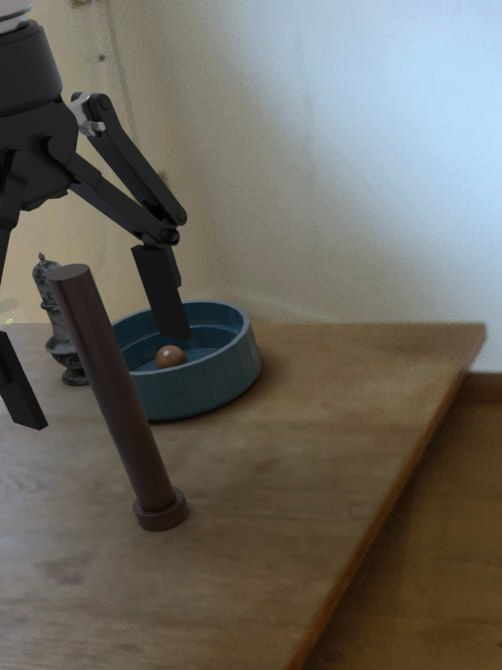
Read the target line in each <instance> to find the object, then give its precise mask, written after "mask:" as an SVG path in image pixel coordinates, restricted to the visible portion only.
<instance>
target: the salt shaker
mask: <svg viewBox="0 0 502 670" xmlns="http://www.w3.org/2000/svg"><path fill="white" fill-rule="evenodd" d="M37 259H39V261H38V263H37V264H35V265H34V266H33V268H32V271H31V276H32V278H33V281H34V283H35V285H36V288H37V291H38V293H39V296H40V298H41V300H42V301H41V303H40V305H39V306H40V309H42V310H43V311H45V313H46V314H47V317H48V319H49V321H50V324H51V328H52V333H53V335H52V336H51V337H49V338H48V339H47V340H46V341H45V343H44V349H45V351H46V352H48V353H49V354H51V356H52V358H53V359H54V360H55V362H56V363H58V365H60V366H63V367H65V368H66V369H65V370H64V371H63V372H62V374H61V380H62V382H63V383H64V384H66V385H69V386H76V387H77V386H78V387H79V386H85V385H90V383H89V381H88V378H87V376H86V373H85V371H84V369H83V366H82V364H81V361H80V359H79V356H78V354H77V352H76V349H75V347H74V344H73V342H72V339H71V337H70V335H69V332H68V330H67V327H66V325H65V322H64V320H63V318H62V315H61V313H60V310H59V308H58V305H57V303H56V301H55V298H54V296H53V293H52V291H51V288H50V286H49V284H48V281H47V279H46V276H47V274H48V273H49V272H51V271H52V270H54V269H56V268H58V267H61V266H62V265H61V264H60V263H59V262H57V261H54V260H49V259H46V255H44V253H42V252H41V251H40V252H38V255H37Z"/></svg>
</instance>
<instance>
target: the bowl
mask: <svg viewBox="0 0 502 670" xmlns="http://www.w3.org/2000/svg"><path fill="white" fill-rule="evenodd" d="M181 301H182V304H183V307H184V310H185V314H186V317H187V320H188V323H189V326H190V329H191V332H192V336H193V337H191V338H190V339H188V340H186V341H184V340H179V339H175V338H170V337H166V336H161V335H160V333H159V330H158V327H157V325H156V322H155V319H154V316H153V313H152V310H151V307H150V306H149V307H147V308H144V309H139V310H137V311H135V312H131V313H129V314H127V315H125V316H123V317H120V318H118V319H117V320H115V321H113V322H110V323H111V325H112V328H113V330H114V333H115V336H116V338H117V341H118V344H119V346H120V349H121V352H122V354H123V357H124V360H125V362H126V365H127V368H128V370H129V373H130V375H131V378H132V381H133V383H134V386H135V389H136V391H137V394H138V397H139V399H140V402H141V405H142V407H143V410H144V413H145V415H146V418H147V420H148V422H149V421H150V422H152V421H153V422H161V421H173V420H179V419H184V418H185V419H186V418H190V417H194V416H197V415H201V414H204V413H208V412H210V411H213V410H215V409H217V408H220V407H222V406H224V405H226V404H228V403H230V402H232V401H233V400H234V399H237V398H238V397H239V396H240V395H242V394H243V393H244V392H245V391H246V390H247V389H248V388H249V387H250V386H251V385H252V384H253V383H254V381H255V380H256V379H257V378H258V377H259V374H260V372H261V370H262V367H263V363H262V358H261V354H260V353H261V352H260V350H259V346H258V343H257V339H256V335H255V331H254V328H253V324H252V320H251V317H250V314H249V313H248V312H247V311H246V310H245V309H244V308H243V307H241V306H239V305H238V304H235V303H232V302H229V301H224V300H219V299H188V300H181ZM167 345H173V346H177V347H179V348H180V349H182V350H183V351H184V352H185V354H186V356H187V358H188V363H186V364H183V365H180V366H175V367H170V368H165V369H160V370H158V369H157V367H156V363H155V357H156V354H157V352H158V351H159V350H160V349H161V348H162V347H164V346H167Z"/></svg>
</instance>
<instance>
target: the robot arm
mask: <svg viewBox="0 0 502 670" xmlns="http://www.w3.org/2000/svg"><path fill="white" fill-rule="evenodd" d="M34 4H35V2H34V0H0V286H1V285H2V280H3V276H4V275H3V274H4V269H5V264H6V258H7V255H8V254H7V253H8V248H9V243H10V239H11V233H12V231H13V230H14V229H15V228H16V227H17V226H18V223H19V221H20V220H19V219H20V214H21V211H22V212H31V211H34V210H37V209H39V208H40V207H41V206H43V204H45V203H46V202H47V201H48V200H56V199H57V200H58V199H61V198H64V197H66V196H68V195H69V192H68V190H70V191H71V192H73V193H74V194H75V195H77V196H78V197H80V198H81V199H83V200H84V201H85V202H87V203H88V204H89V205H90V206H92V207H93V208H95V209H96V210H97V211H99V212H100V213H101V214H103V215H104V216H106V217H107V218H108V219H110V221H112V222H114V223H115V224H117V225H118V226H119V227H121V228H122V229H123V230H125V231H126V232H128V233H129V234H131V235H132V236H133V237H134V238H136V239H137V240H138V241H141V242H142V244H140V243H137V244H135V245H134V246H132V247H129V248H130V251H131V255H132V257H133V260H134V264H135V267H136V269H137V272H138V275H139V277H140V281H141V284H142V287H143V289H144V292H145V296H146V298H147V301H148V304H149V308H150V307H151V310H152V313H153V316H154V319H155V322H156V325H157V327H158V330H159V333H160V335H161V336H166V337H170V338H175V339H179V340H184V341H186V340H188V339H190V338H191V337H193V336H192V332H191V329H190V326H189V323H188V320H187V317H186V314H185V310H184V307H183V304H182V301H183V300H182V298H181V294H180V291H179V288H180V287H182V275H181V273H180V269H179V266H178V263H177V259H176V256H175V254H174V251H173V248H172V247H176V246H177V245H179V243H180V241H181V234H180V231H179V230H178V227H183V226H185V225H186V224H187V222H188V212H187V211H186V210H185V208H184V207H183V206H182V204H181V203H180V202H179V199H177V198H176V196H175V194H173V192H172V191H171V190H170V189H169V188H168V186H167V185H166V183H165V182H164V180H162V178H161V177H160V175H159V174H158V173H157V171H156V170H155V169H154V167H153V166H152V165H151V164H150V162H149V161H148V159H146V157H145V156H144V154H143V153H142V152H141V151H140V149H139V147H137V145H136V144H135V143H134V142H133V140H132V139H131V138H130V137H129V135H128V133H127V132H126V131H125V130H124V128H123V126H122V124H121V122H120V119H119V117H118V115H117V112H116V110H115V107H114V104H113V102H112V100H111V98H110V97H109V96H108V95H107V94H106V93H102V92H87V91H74V92H73V93H72V94H71V96H70V103H68V104H66V102H65V101H64V99H63V97H62V91H63V88H64V83H63V80H62V77H61V73H60V71H59V67H58V65H57V63H56V59H55V58H54V54H53V52H52V51H53V50H52V48H51V46H50V43H49V40H48V37H47V34H46V32H45V29H44V27H43V25H40V24H39V22H38V21H37V20H35V19H31V18H28V15H27V13H29V12H30V11H31V10H32V8H33V6H34ZM79 133H80V134H81V135H82V136H85V137H86V139H87V140H88V142H89V144H91V146H92V147H93V149H94V150H95V151H96V152H97V154H99V156H100V157H101V158H102V159H103V161H104V162H105V163H106V164H107V166H108V168H110V169H111V171H112V172H113V173H114V175H116V177H117V178H118V179H119V180H120V181H121V183H122V184H123V185H124V187H125V188H126V189H127V190H128V191H129V193H130V195H132V197H134V199H135V200H136V201H137V202H136V201H135V200H134V199H133V198H131V197H130V196H129V195H127V194H126V193H125V192H124V191H123V190H121V189H120V188H119V187H117V186H116V185H115V184H113V183H112V182H111V181H110V180H108V179H106V178H105V177H104V176H103V175H102V174H103V172H102V171H100V170H99V169H98V168H97V167H96V166H94V165H93V164H92V163H90V161H88V160H86V158H84V157H83V156H81V155H80V154H79V153H78V152H77V147H78V139H79ZM0 397H1V400H2V402H3V404H4V405H5V408H6V410H7V412H8V414H9V416H10V418H11V420H12V422H13V424H17V425H20V426H23V427H26V428H30V429H32V430H36V431H39V432H41V431H42V430H44V429H45V428H47V427H49V423H48V421H47V418H46V415H45V414H44V412H43V410H42V407H41V405H40V403H39V401H38V399H37V396H36V393H35V392H34V389H33V387H32V385H31V383H30V381H29V378H28V377H27V374H26V372H25V370H24V368H23V366H22V363H21V362H20V359H19V356H18V354H17V353H16V350H15V348H14V346H13V344H12V341H11V339H10V337H9V334H8V332H6V331H4V330H0Z"/></svg>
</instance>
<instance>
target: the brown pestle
mask: <svg viewBox="0 0 502 670" xmlns="http://www.w3.org/2000/svg"><path fill="white" fill-rule="evenodd" d="M46 279H47V281H48V284H49V286H50V288H51V291H52V293H53V296H54V298H55V301H56V303H57V305H58V308H59V310H60V313H61V315H62V318H63V320H64V322H65V325H66V327H67V330H68V332H69V335H70V337H71V339H72V342H73V344H74V347H75V349H76V352H77V354H78V356H79V359H80V361H81V364H82V366H83V369H84V371H85V373H86V376H87V378H88V381H89V383H90V384H89V385H90V388H91V391H92V393H93V396H94V398H95V400H96V403H97V405H98V408H99V409H100V412H101V415H102V417H103V420H104V422H105V424H106V427H107V429H108V432H109V434H110V437H111V439H112V441H113V444H114V446H115V449H116V451H117V453H118V456H119V459H120V461H121V463H122V465H123V468H124V470H125V473H126V476H127V478H128V481H129V483H130V486H131V488H132V490H133V492H134V494H135V497H136V499H135V500H134V501H133V504H132V511H133V513H134V517H135V518H136V521H137V523H138V525H139V526H140V527H141V528H142V529H143V530H146V531H151V532H160V531H165V530H168V529H169V530H170V529H171V528H174V527H176V526H178V525H180V524H181V523H182V522H184V521H185V520H186V519H187V517H188V515H189V514H190V507H189V505H188V504H189V503H188V501H187V500H186V499H187V498H186V497H185V494H184V491H183V490H181V489H180V488H178V487H176V486H173V484H172V482H171V478H170V476H169V474H168V471H167V469H166V466H165V463H164V460H163V458H162V455H161V453H160V450H159V447H158V444H157V441H156V439H155V437H154V434H153V431H152V429H151V426H150V424H149V421H148V420H147V418H146V415H145V413H144V410H143V407H142V405H141V402H140V399H139V397H138V394H137V391H136V389H135V386H134V383H133V381H132V378H131V375H130V373H129V370H128V368H127V365H126V362H125V360H124V357H123V354H122V352H121V349H120V346H119V344H118V341H117V338H116V336H115V333H114V330H113V328H112V325H111V323H112V322H111V320H110V318H109V315H108V312H107V309H106V307H105V304H104V302H103V299H102V297H101V293H100V291H99V288H98V286H97V283H96V280H95V277H94V275H93V273H92V270H91V267H90V266H89V265H88V264H86V263H70V264H65V265H61V267H58V268H56V269H54V270H52V271H51V272H49V273H48V274H47V276H46Z"/></svg>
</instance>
